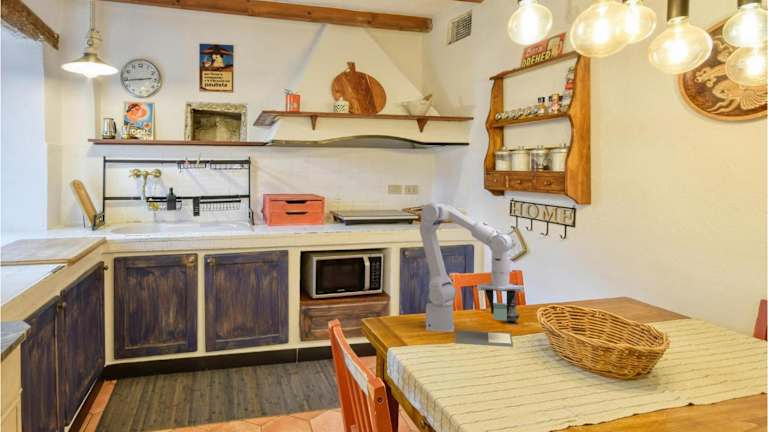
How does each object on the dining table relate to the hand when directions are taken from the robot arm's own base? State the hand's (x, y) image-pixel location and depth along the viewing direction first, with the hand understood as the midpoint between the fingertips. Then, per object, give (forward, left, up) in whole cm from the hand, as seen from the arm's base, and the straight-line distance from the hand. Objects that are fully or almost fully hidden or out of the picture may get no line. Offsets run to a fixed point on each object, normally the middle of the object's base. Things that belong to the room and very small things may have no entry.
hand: (499, 313), depth 160 cm
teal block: (0, 0, -1) cm, 1 cm away
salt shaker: (+5, +20, -9) cm, 22 cm away
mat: (-5, -1, -9) cm, 10 cm away
